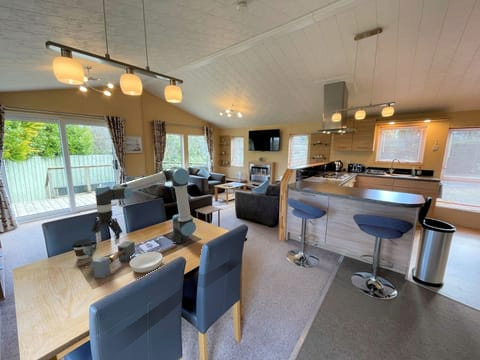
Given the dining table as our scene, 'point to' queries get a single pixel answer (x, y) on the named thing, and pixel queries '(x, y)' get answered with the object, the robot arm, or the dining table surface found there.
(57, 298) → the dining table surface
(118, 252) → the tube
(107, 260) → the socket
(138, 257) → the bowl
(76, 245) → the coffee cup
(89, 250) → the wine glass
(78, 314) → the dining table surface
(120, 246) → the sleeve
